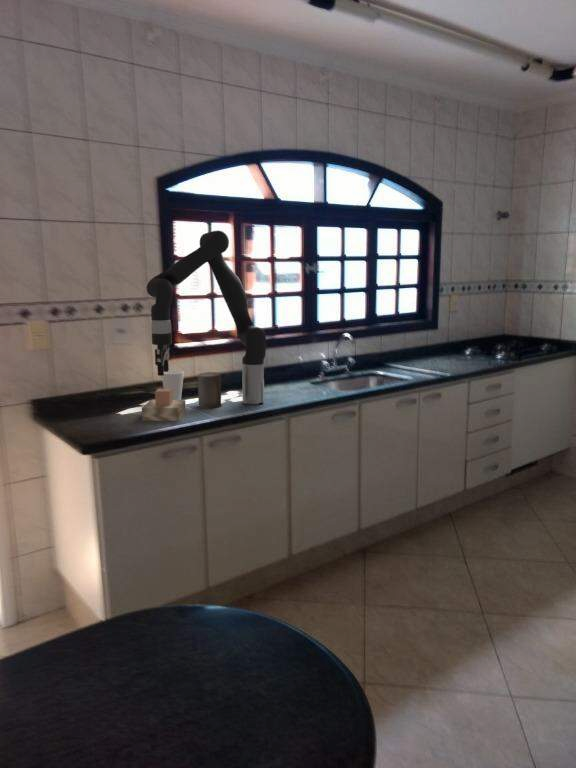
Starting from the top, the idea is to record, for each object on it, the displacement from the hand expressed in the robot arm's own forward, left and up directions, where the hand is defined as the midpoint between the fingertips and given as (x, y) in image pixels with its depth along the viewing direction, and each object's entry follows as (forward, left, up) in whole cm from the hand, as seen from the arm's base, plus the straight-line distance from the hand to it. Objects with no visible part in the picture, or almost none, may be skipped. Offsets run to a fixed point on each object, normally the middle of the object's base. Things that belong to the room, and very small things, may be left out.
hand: (163, 373), depth 222 cm
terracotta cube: (0, 0, -12) cm, 12 cm away
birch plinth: (0, 0, -17) cm, 17 cm away
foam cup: (+2, -26, -17) cm, 31 cm away
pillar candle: (-15, -19, -17) cm, 30 cm away
